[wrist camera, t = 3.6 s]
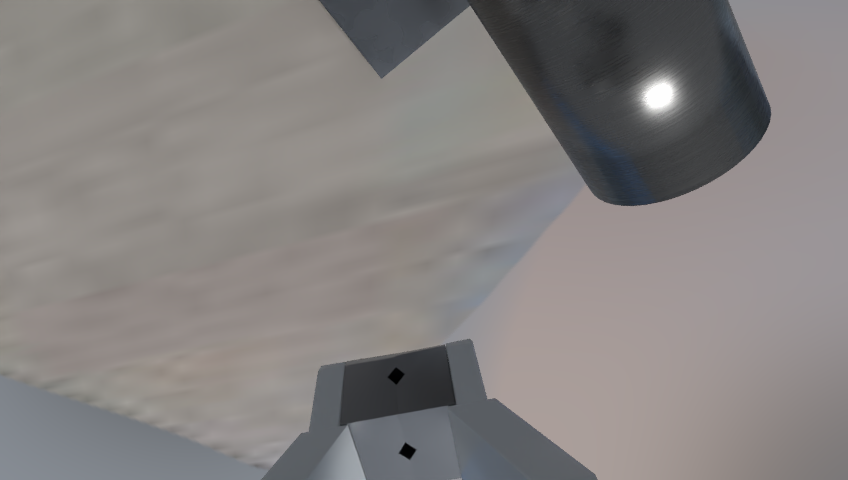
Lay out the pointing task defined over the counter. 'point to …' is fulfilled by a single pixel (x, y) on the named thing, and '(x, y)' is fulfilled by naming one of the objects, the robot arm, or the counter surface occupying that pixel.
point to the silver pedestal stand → (392, 26)
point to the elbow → (636, 88)
